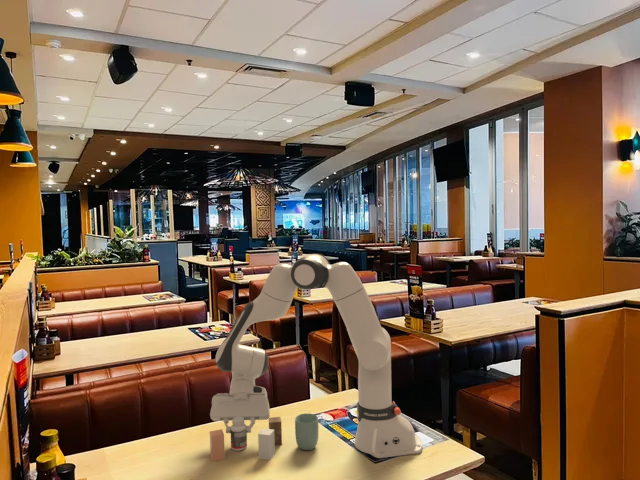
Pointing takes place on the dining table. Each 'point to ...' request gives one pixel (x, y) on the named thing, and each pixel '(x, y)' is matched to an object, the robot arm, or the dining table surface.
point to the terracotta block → (217, 445)
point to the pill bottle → (238, 434)
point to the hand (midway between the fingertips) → (238, 432)
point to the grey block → (266, 444)
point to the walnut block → (276, 429)
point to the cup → (306, 431)
